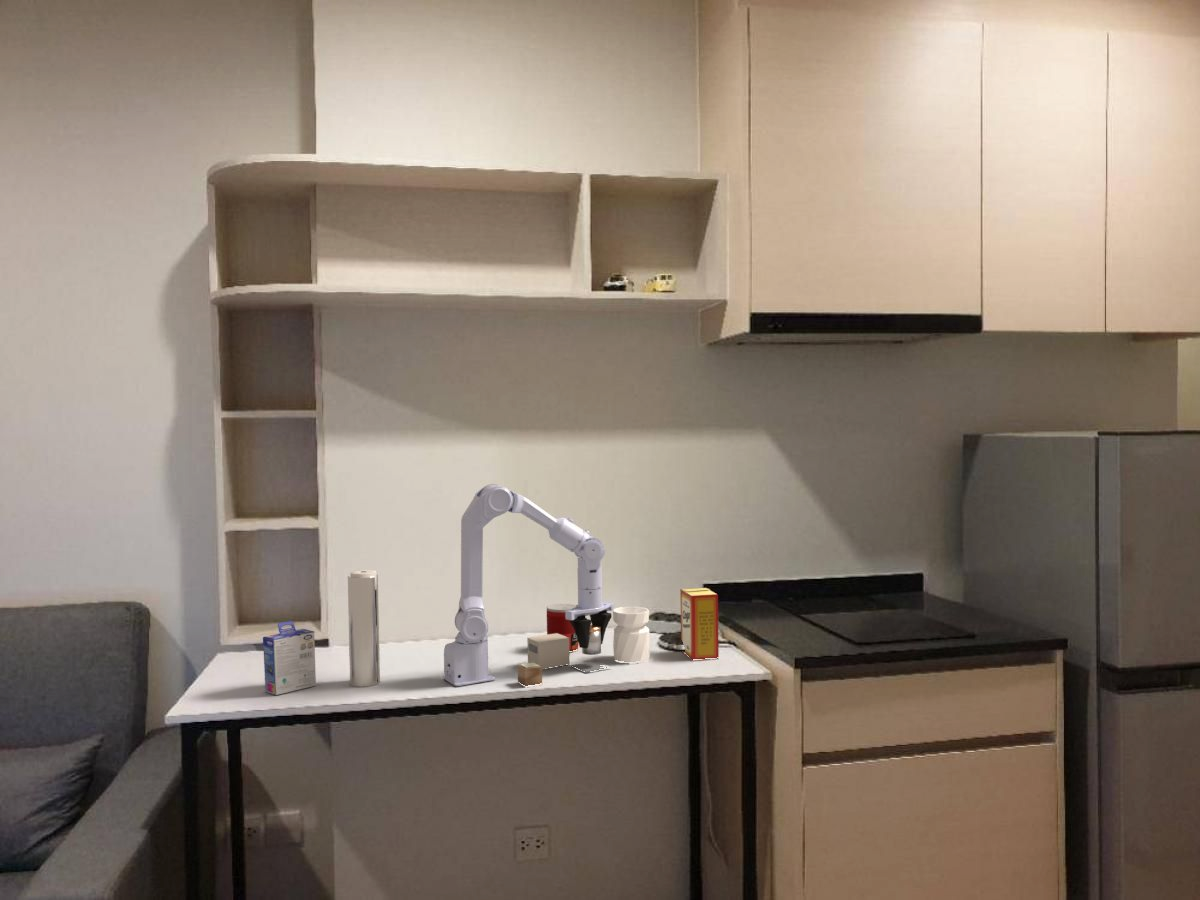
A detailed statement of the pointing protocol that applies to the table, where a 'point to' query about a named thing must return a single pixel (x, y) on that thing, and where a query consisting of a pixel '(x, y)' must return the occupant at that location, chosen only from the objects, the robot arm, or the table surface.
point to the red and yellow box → (699, 623)
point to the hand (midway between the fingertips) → (591, 645)
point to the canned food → (561, 623)
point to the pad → (589, 666)
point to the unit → (548, 650)
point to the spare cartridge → (593, 641)
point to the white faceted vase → (631, 634)
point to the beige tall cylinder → (363, 628)
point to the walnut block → (529, 674)
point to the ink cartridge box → (289, 660)
